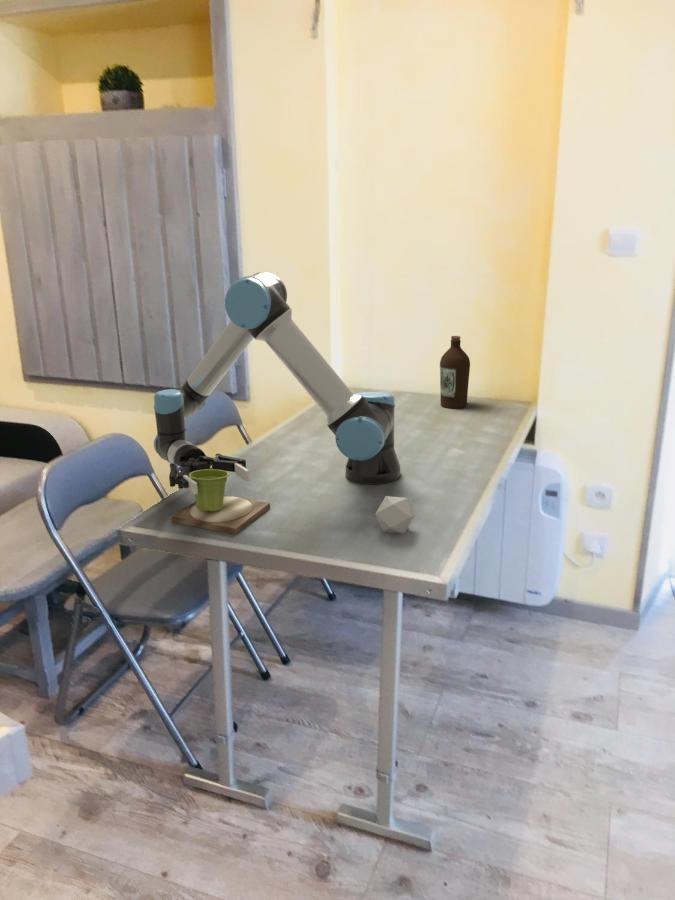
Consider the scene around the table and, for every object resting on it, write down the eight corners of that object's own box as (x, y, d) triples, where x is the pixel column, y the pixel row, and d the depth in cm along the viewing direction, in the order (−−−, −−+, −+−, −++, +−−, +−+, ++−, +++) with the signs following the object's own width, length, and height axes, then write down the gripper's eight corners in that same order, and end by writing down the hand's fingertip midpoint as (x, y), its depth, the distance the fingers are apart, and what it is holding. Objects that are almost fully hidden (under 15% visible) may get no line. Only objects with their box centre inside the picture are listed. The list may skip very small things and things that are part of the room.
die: (418, 527, 176) (399, 490, 177) (423, 524, 167) (403, 485, 169) (387, 542, 175) (368, 505, 176) (390, 540, 166) (371, 501, 168)
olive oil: (451, 399, 278) (453, 332, 269) (474, 405, 270) (477, 336, 262) (432, 405, 271) (434, 336, 263) (455, 411, 263) (458, 340, 255)
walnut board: (270, 508, 186) (269, 501, 185) (235, 534, 172) (235, 527, 172) (209, 497, 193) (208, 491, 193) (171, 522, 180) (171, 515, 179)
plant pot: (212, 500, 188) (210, 466, 186) (237, 507, 182) (236, 473, 180) (182, 508, 181) (180, 474, 179) (207, 516, 175) (206, 481, 173)
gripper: (231, 461, 202) (269, 485, 186) (142, 481, 189) (174, 509, 173) (229, 435, 200) (268, 456, 183) (139, 453, 187) (171, 478, 170)
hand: (222, 482), depth 178 cm, fingers open, 13 cm apart
